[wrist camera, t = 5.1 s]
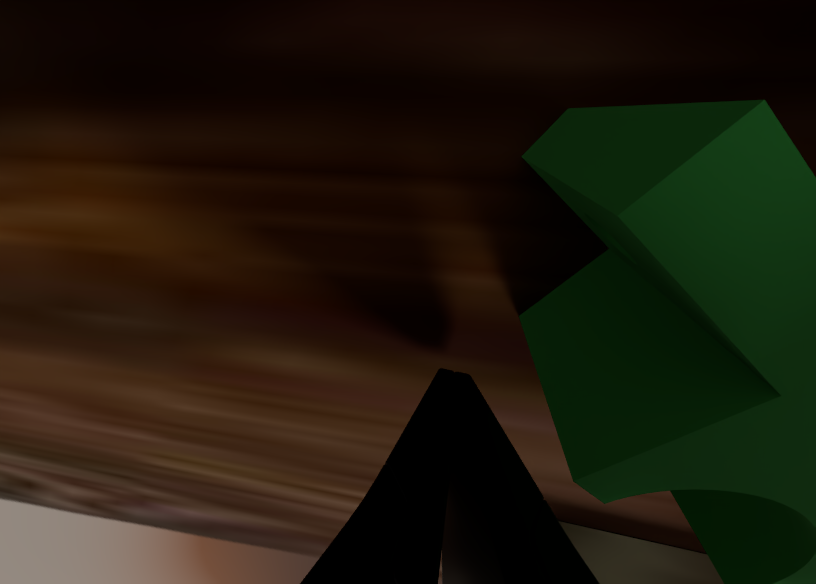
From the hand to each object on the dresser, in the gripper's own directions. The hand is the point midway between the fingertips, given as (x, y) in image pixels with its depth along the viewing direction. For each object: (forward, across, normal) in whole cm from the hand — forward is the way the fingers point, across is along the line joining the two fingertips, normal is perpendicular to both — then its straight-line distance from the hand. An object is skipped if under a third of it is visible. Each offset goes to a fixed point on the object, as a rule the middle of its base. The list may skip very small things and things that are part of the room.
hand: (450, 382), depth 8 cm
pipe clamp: (+1, -5, -2) cm, 5 cm away
